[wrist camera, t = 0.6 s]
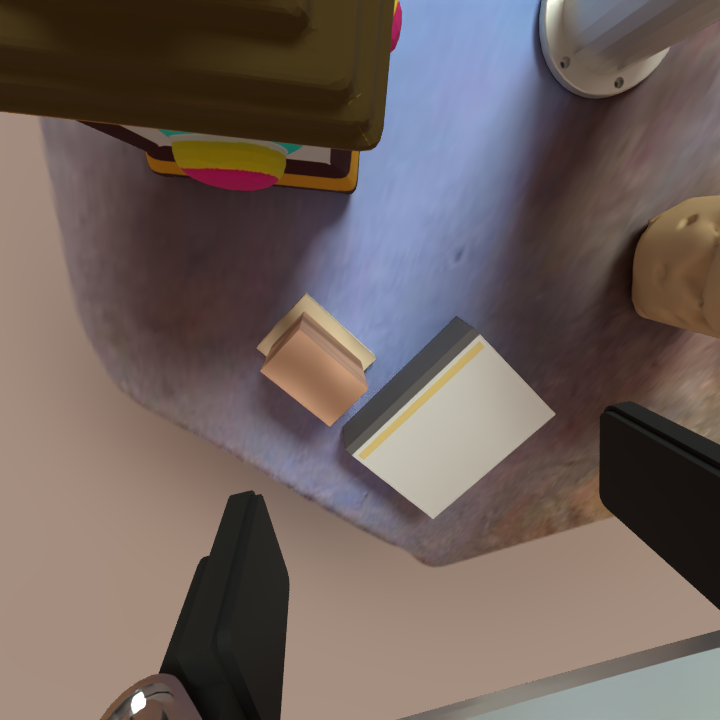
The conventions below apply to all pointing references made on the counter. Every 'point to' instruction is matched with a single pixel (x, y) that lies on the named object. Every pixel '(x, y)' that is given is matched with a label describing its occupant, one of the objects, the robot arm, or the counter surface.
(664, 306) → the container
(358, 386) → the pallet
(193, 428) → the counter surface
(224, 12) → the decorative lantern
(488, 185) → the counter surface
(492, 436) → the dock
